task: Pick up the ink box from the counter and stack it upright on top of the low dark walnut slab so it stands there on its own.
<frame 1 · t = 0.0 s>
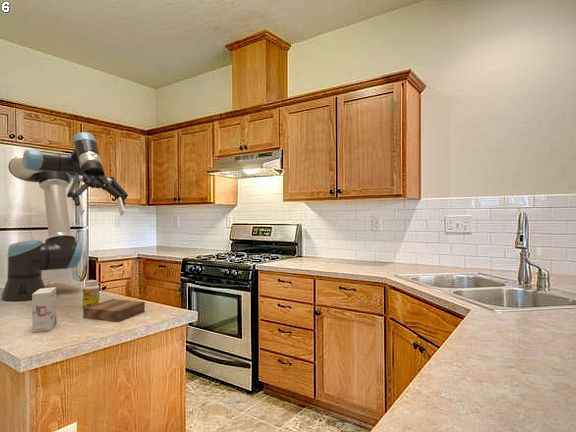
hand: (103, 213, 132), 36 cm above the counter, tool tilted 35°, fingers open, 13 cm apart
ink box: (44, 328, 117), on the counter
supplement bottle: (90, 308, 141), on the counter
walnut slab: (115, 316, 133), on the counter
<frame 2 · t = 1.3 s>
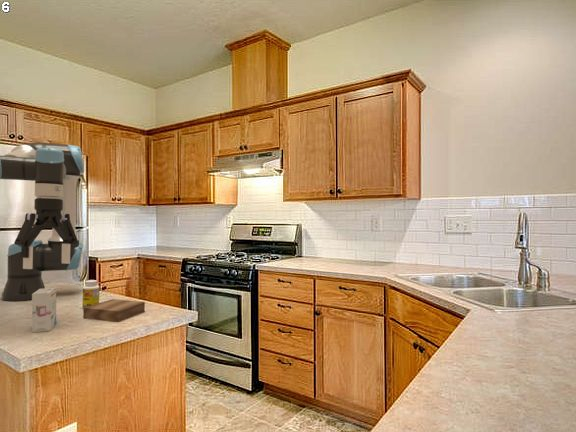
hand: (47, 266, 117), 19 cm above the counter, tool pointing down, fingers open, 13 cm apart
nothing on the counter moved.
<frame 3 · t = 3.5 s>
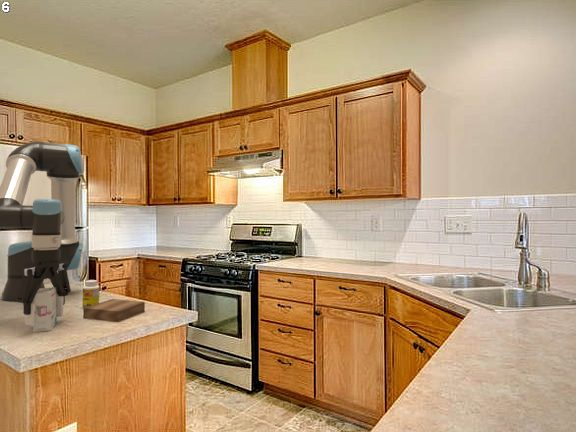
hand: (44, 320, 117), 2 cm above the counter, tool pointing down, fingers closed on ink box, 9 cm apart
ink box: (44, 328, 117), on the counter, touching gripper
everything else where it was.
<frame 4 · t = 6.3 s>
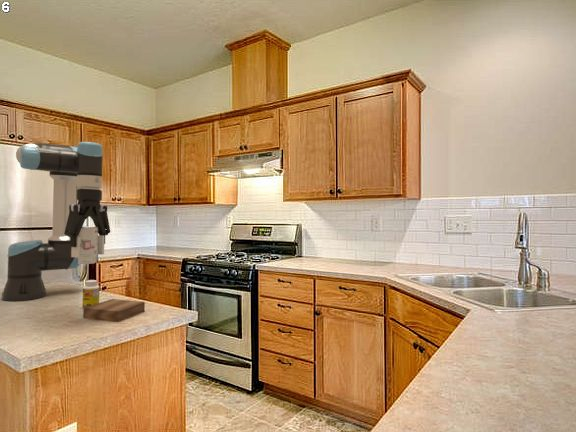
hand: (88, 255, 126), 22 cm above the counter, tool pointing down, fingers closed on ink box, 9 cm apart
ink box: (88, 262, 126), point 19 cm above the counter, touching gripper
everything else where it was.
when the fingers open (7 cm above the counter, at t = 9.1 s): ink box stays where it is, resting on walnut slab.
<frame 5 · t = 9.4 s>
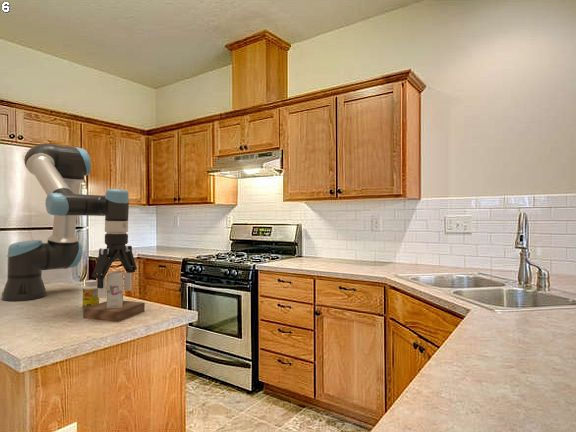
hand: (115, 293, 133), 7 cm above the counter, tool pointing down, fingers open, 12 cm apart
ink box: (114, 306, 132), point 3 cm above the counter, touching walnut slab
walnut slab: (115, 316, 133), on the counter, touching ink box
everything else where it was.
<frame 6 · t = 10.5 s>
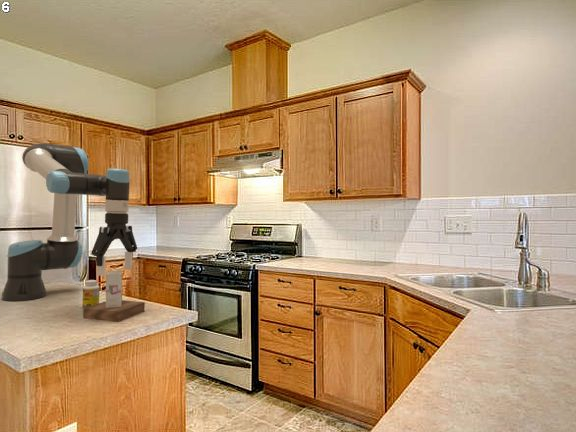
hand: (115, 272, 133), 15 cm above the counter, tool pointing down, fingers open, 13 cm apart
nothing on the counter moved.
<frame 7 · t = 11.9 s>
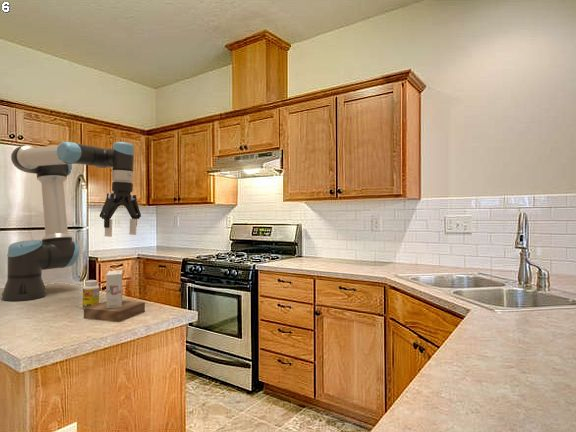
hand: (121, 235, 148), 27 cm above the counter, tool pointing down, fingers open, 13 cm apart
nothing on the counter moved.
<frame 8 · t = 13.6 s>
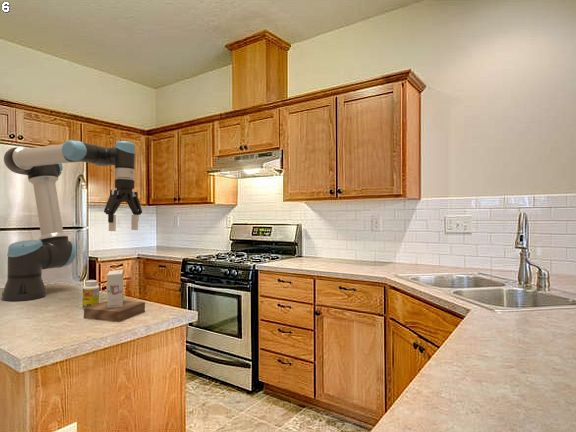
hand: (123, 230, 155), 29 cm above the counter, tool pointing down, fingers open, 13 cm apart
ink box: (115, 305, 133), point 3 cm above the counter
walnut slab: (115, 316, 133), on the counter
everything else where it was.
at the end: ink box 0.1 cm from the walnut slab (horizontally); ink box tilted 0°; ink box touching walnut slab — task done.
